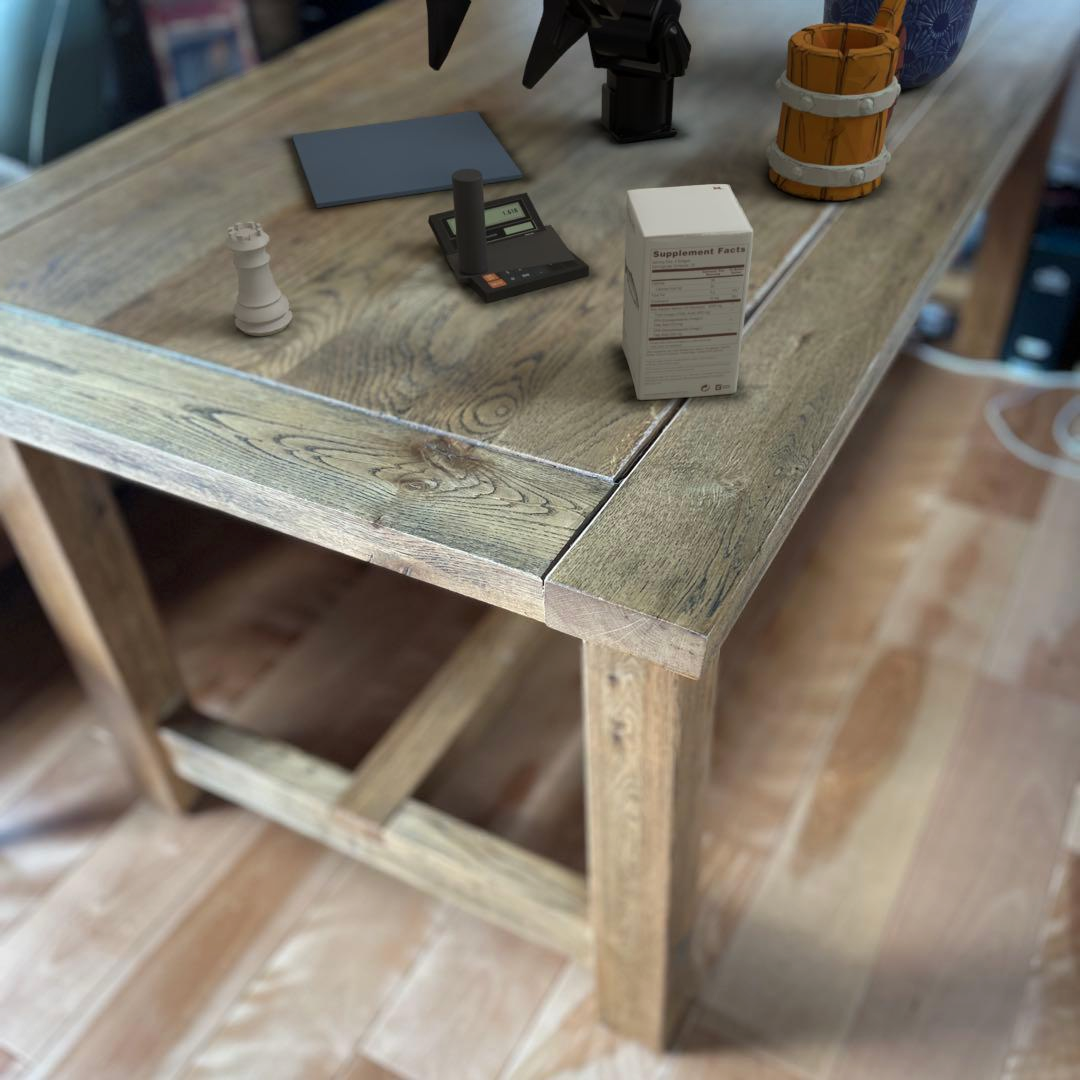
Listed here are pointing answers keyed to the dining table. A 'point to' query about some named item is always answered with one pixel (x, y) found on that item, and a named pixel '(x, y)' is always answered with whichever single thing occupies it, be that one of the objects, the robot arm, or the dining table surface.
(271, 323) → the rook chess piece
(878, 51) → the mug
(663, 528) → the dining table surface
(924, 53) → the planter
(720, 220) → the white packaging box
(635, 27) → the robot arm
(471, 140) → the felt mat
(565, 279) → the calculator
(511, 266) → the peg stand
